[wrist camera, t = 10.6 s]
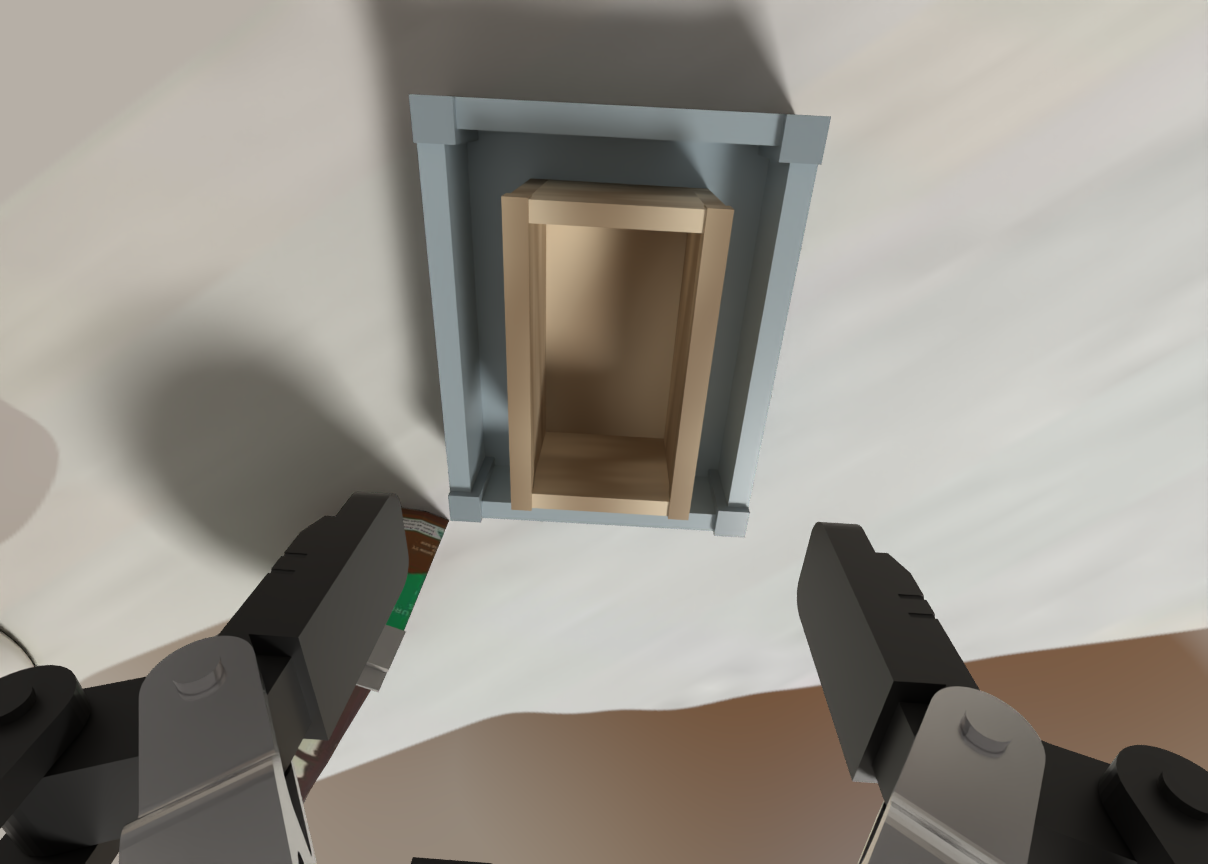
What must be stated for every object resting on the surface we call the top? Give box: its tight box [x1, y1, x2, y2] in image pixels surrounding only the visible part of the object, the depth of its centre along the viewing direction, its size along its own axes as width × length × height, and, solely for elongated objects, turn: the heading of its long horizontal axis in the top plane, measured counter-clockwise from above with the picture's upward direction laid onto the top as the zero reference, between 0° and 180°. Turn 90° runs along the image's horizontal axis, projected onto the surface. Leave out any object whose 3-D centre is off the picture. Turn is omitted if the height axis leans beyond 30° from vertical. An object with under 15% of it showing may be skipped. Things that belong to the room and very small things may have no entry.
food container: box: [216, 508, 449, 804], centre depth 25 cm, size 12×6×10 cm, turn 149°
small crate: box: [501, 178, 734, 520], centre depth 20 cm, size 6×10×5 cm, turn 177°
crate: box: [409, 94, 831, 537], centre depth 21 cm, size 12×15×4 cm
